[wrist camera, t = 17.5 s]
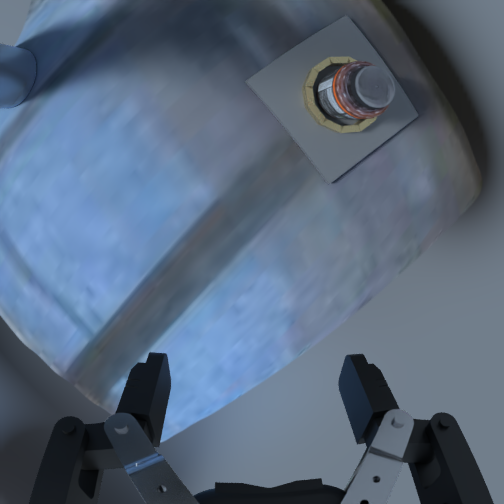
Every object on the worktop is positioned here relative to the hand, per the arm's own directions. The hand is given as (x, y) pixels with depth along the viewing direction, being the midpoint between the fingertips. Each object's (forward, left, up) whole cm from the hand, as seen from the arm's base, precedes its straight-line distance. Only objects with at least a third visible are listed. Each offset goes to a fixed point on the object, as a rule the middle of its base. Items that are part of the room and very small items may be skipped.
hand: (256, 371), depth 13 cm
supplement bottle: (-4, +18, -27) cm, 33 cm away
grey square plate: (-4, +18, -28) cm, 34 cm away
